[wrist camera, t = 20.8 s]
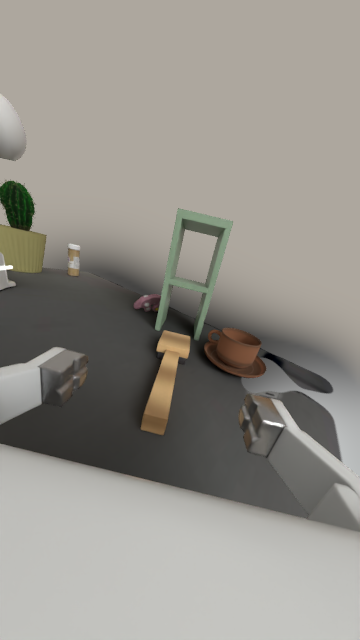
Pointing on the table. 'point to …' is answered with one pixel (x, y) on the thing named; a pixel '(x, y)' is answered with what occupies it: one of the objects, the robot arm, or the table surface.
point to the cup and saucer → (235, 353)
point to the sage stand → (183, 222)
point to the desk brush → (165, 381)
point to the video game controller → (148, 302)
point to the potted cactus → (20, 231)
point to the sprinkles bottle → (73, 259)
